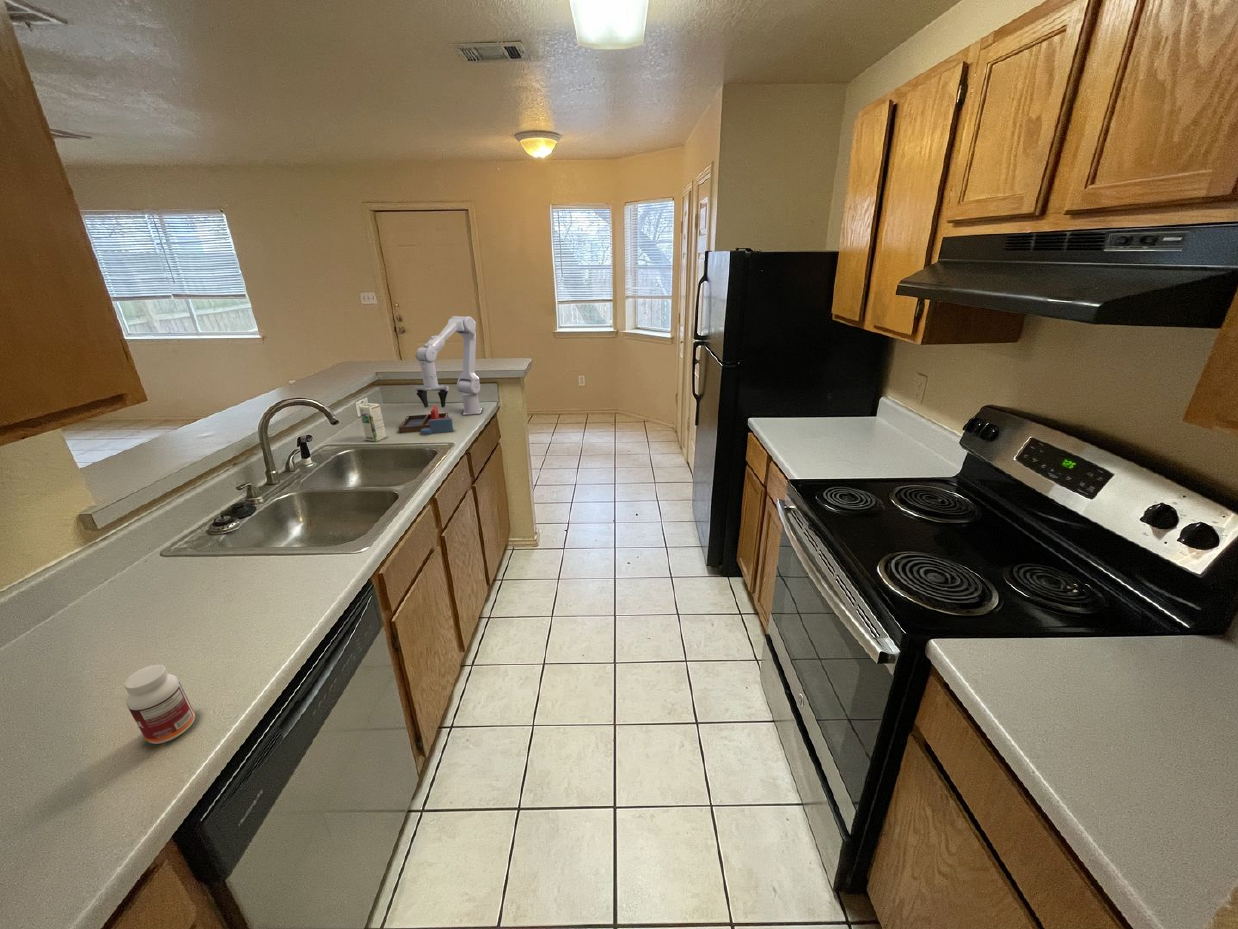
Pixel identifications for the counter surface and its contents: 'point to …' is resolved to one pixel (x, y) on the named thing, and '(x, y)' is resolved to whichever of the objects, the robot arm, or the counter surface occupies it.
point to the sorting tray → (418, 422)
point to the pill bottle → (158, 704)
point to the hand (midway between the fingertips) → (435, 407)
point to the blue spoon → (438, 426)
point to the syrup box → (372, 421)
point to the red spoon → (434, 413)
